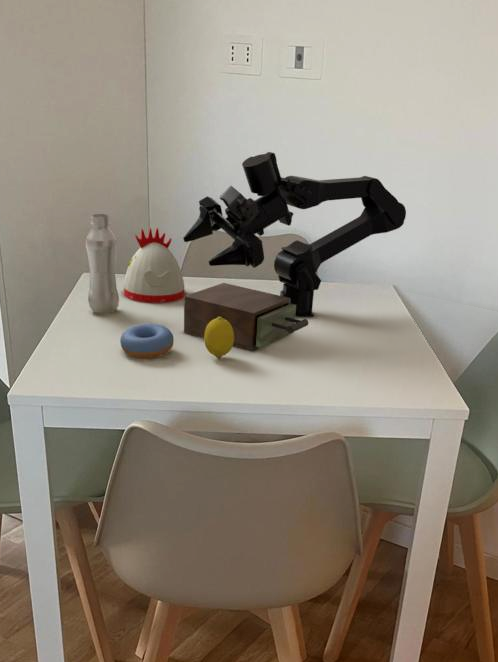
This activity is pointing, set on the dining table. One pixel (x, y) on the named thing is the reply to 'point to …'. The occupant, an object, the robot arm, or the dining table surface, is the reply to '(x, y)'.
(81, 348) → the dining table surface
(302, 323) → the drawer
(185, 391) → the dining table surface
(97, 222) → the plastic bottle
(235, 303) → the cabinet
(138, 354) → the doughnut
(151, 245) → the kitchen timer
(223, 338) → the lemon
